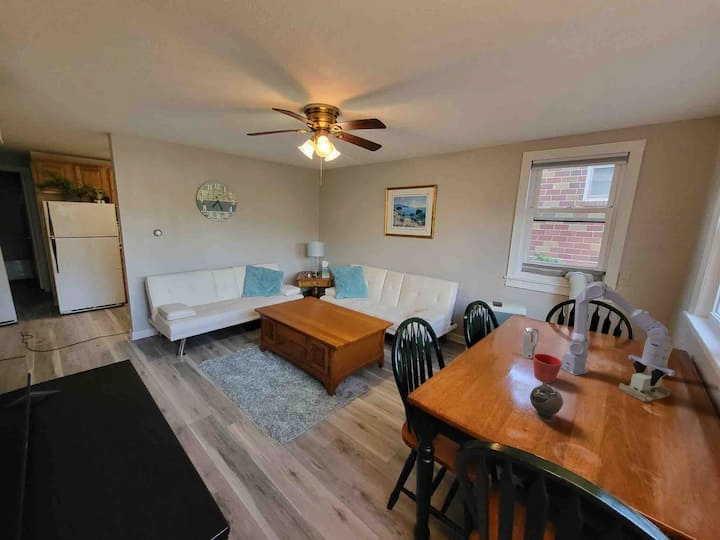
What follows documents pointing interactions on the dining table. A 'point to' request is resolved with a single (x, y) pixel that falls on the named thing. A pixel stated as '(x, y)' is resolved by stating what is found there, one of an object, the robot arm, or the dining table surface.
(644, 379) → the pale green block
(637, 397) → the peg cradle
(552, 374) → the flower pot
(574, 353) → the robot arm
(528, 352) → the silver pitcher
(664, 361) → the plastic bottle
